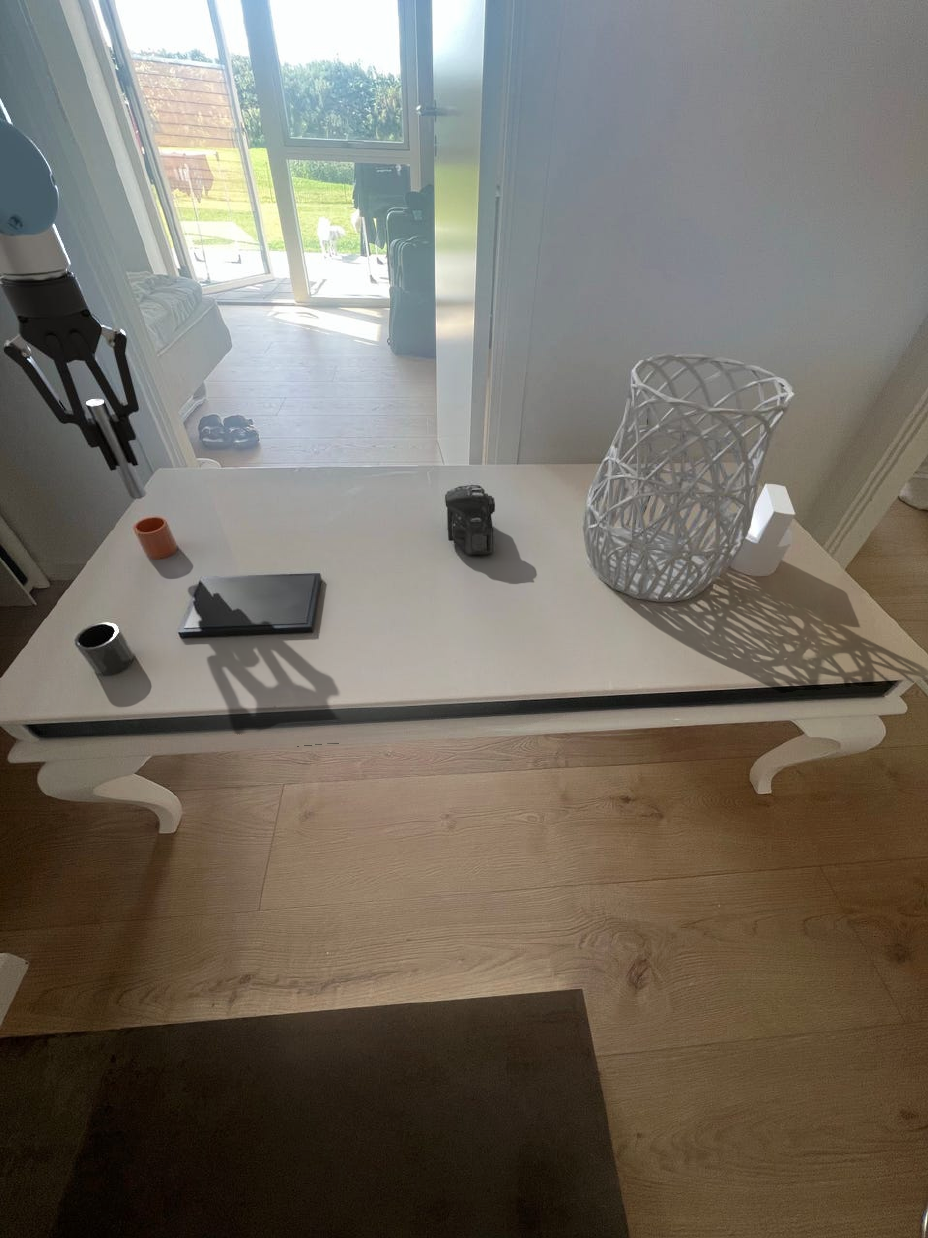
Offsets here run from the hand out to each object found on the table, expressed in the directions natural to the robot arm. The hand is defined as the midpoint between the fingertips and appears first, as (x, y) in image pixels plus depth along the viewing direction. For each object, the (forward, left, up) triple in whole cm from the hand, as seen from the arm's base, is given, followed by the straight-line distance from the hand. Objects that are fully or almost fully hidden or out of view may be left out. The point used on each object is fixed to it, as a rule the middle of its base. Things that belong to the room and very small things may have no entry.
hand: (123, 463), depth 76 cm
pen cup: (0, 0, -16) cm, 16 cm away
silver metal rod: (0, +1, -6) cm, 6 cm away
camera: (+47, -21, -16) cm, 54 cm away
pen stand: (-9, -23, -16) cm, 29 cm away
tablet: (+10, -21, -16) cm, 28 cm away
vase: (+70, -41, -16) cm, 82 cm away
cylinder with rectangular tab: (+86, -48, -16) cm, 100 cm away
